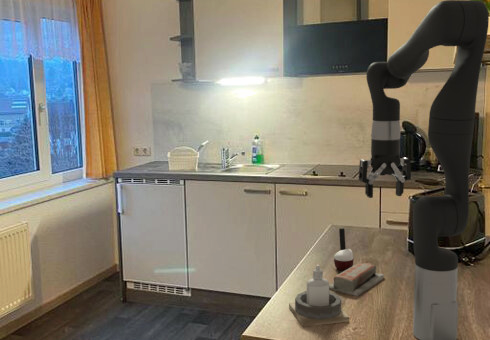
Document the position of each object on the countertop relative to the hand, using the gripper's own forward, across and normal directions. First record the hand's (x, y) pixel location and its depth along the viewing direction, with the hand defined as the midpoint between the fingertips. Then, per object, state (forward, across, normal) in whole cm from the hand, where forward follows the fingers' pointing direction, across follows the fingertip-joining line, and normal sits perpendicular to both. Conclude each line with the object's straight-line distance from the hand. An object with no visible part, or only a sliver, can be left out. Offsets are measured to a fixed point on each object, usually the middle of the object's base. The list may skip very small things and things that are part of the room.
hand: (384, 196), depth 146 cm
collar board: (+28, -22, -8) cm, 37 cm away
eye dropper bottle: (+27, -22, -8) cm, 36 cm away
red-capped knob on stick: (+28, -2, +23) cm, 37 cm away
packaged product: (+29, -4, +10) cm, 31 cm away
